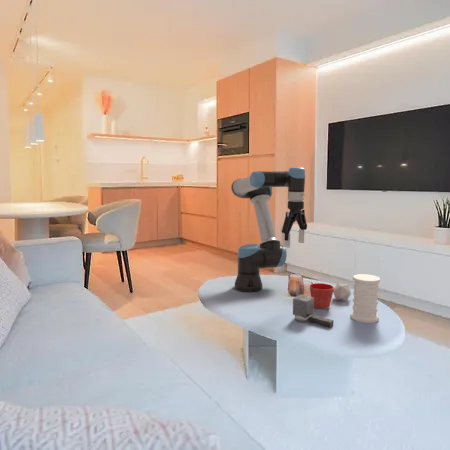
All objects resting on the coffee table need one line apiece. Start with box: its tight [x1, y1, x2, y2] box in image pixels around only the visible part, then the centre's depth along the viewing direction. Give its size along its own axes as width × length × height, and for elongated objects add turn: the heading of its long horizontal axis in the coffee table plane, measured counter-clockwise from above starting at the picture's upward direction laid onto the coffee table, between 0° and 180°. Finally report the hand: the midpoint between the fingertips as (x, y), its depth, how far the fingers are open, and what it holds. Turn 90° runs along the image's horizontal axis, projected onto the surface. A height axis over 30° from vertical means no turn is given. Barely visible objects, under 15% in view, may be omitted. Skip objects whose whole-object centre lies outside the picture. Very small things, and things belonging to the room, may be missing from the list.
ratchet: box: [294, 314, 334, 329], centre depth 162 cm, size 16×7×6 cm, turn 51°
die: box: [333, 282, 352, 302], centre depth 190 cm, size 8×9×10 cm
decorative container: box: [349, 273, 381, 324], centre depth 166 cm, size 12×12×18 cm
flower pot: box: [309, 282, 335, 310], centre depth 181 cm, size 11×11×10 cm
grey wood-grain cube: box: [292, 294, 315, 318], centre depth 165 cm, size 6×6×7 cm
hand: (294, 244), depth 186 cm, fingers open, 13 cm apart
